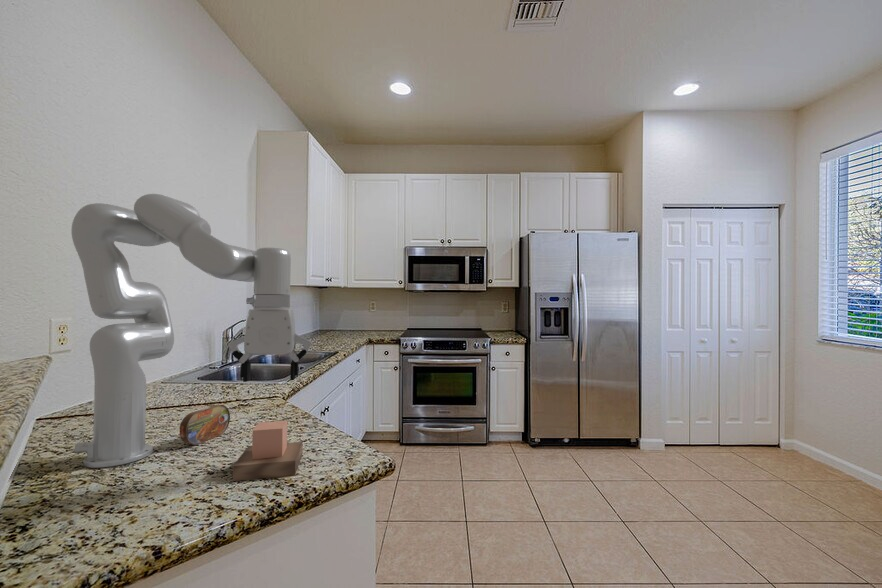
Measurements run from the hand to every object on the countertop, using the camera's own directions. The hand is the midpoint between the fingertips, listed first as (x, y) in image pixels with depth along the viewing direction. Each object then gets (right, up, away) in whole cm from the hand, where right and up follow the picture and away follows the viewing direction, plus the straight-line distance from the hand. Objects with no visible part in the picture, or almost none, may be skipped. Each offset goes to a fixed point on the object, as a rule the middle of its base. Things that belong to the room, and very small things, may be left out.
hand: (270, 379), depth 87 cm
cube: (0, -16, -1) cm, 16 cm away
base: (0, -19, -1) cm, 19 cm away
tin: (-25, -20, +18) cm, 37 cm away
